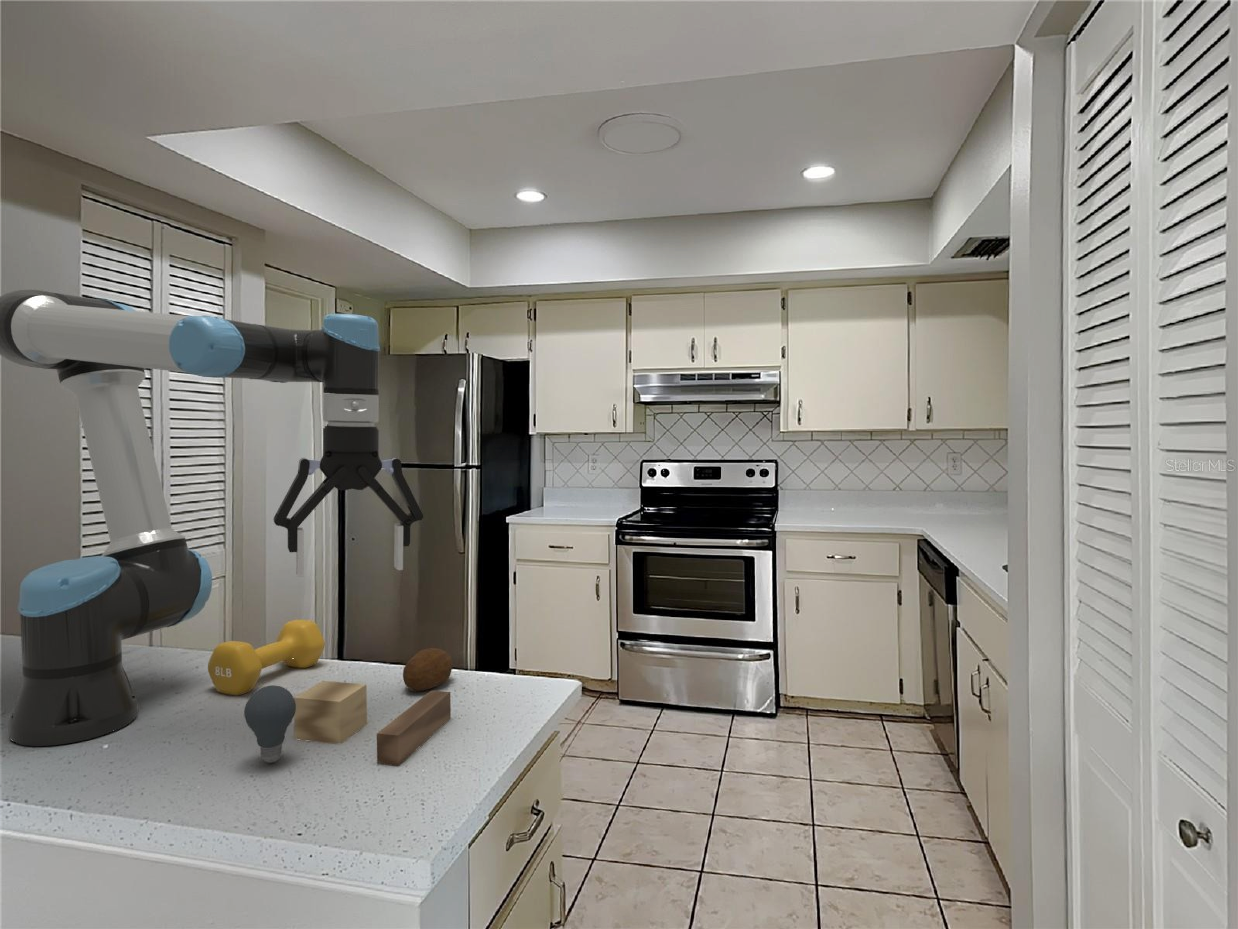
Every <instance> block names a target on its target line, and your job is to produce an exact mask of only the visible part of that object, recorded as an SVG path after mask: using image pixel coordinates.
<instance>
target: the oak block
mask: <svg viewBox="0 0 1238 929" xmlns="http://www.w3.org/2000/svg"><path fill="white" fill-rule="evenodd" d="M367 688H368V687H367V684H366V683H353V682H342V681H329V680H322V681H320V682H318V683H317V684H315V685H314V686H313V685H312V686H311V687H310V688H307V689H306V690H305V691H303V692H301V693H299V694H298V695H296V696H293V698H294V700H295V703H296V711H295V715H294V717H293V720H294V721H293V723H294V724H293V725H294V726H293V728H294V732H293V733H294V740H296V739H300V740H299V741H306V740H309V741H308V742H316V741H317V742H318V743H329V744H336V743H341V744H342V743H344V742H345V741H346V740H348V739H349V738H350V737H352V736H353V735H354V734H356V733H358V731H360V730H361V729H362V728H365V726H366V725H367V724H368V711H367V710H368V700H367V699H368V698H367V697H368V696H367V692H368V691H367ZM355 732H356V733H355ZM347 738H348V739H347ZM344 740H345V741H344ZM343 741H344V742H343Z"/></svg>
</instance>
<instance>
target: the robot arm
mask: <svg viewBox="0 0 1238 929" xmlns="http://www.w3.org/2000/svg"><path fill="white" fill-rule="evenodd" d="M322 322H323V323H322V326H321V329H316V330H315V329H314V330H313V329H289V328H284V327H277V326H269V325H264V324H263V325H262V324H258V323H250V322H249V323H248V322H244V321H238V320H237V321H236V320H233V319H232V320H231V319H225V318H222V317H218V316H212V315H183V314H182V315H181V314H173V313H171V314H170V313H162V312H161V313H160V312H148V311H138V310H136V309H134V308H132V307H131V306H129V305H126V304H123V303H117V302H115V301H112V300H109V299H104V298H96V299H95V298H91V297H82V296H78V295H77V296H76V295H70V294H64V293H57V292H52V291H49V290H48V291H47V290H39V289H19V290H13V291H11V292H6V293H4V294H2V295H0V356H1V357H3V358H5V359H6V360H8V361H10V362H12V363H14V364H17V365H21V366H25V367H30V368H34V369H43V370H45V369H46V370H56V372H57V376H58V379H59V380H58V381H59V385H60V387H61V389H63V390H64V391H67V392H68V393H71V394H72V395H73V396H74V397H75V400H76V401H75V402H76V406H77V410H78V414H79V418H80V422H81V426H82V430H83V434H84V438H85V442H86V446H87V451H88V454H89V460H90V464H91V468H92V471H93V476H94V479H95V484H96V488H97V492H98V496H99V499H100V500H99V501H100V504H101V509H102V512H103V517H104V520H105V521H104V522H105V525H106V529H107V534H108V536H109V537H108V538H109V544H108V546H107V547H106V549H105V550H104V551H103V552H102V554H101V555H99V556H98V555H97V556H86V557H80V558H76V559H65V560H62V561H58V562H55V563H50V564H47V565H44V566H41V567H39V568H36V569H34V570H33V571H31V572H30V573H28V574H27V575H26V576H25V577H24V578H23V580H22V581H21V583H20V587H19V589H20V590H19V602H18V606H17V609H18V613H19V616H20V640H21V641H20V642H21V659H22V660H21V662H22V664H21V665H22V683H21V686H20V690H19V693H18V696H17V699H16V702H15V703H16V704H15V707H14V712H13V713H12V714H11V715H10V718H9V721H8V734H9V736H10V738H11V739H12V740H13V741H14V742H16V743H15V744H17V743H19V744H18V745H22V746H28V747H29V746H30V747H45V746H46V747H47V746H57V745H58V746H59V745H65V744H70V743H71V744H72V743H78V742H82V741H87V740H91V739H94V738H98V737H101V736H104V734H105V735H107V734H110V733H113V732H114V731H113V730H115V731H117V730H116V729H118V730H120V729H122V728H124V727H125V726H128V725H129V724H130V723H129V722H131V723H132V722H133V721H134V720H135V719H136V718H137V717H136V716H138V715H137V714H138V713H139V711H138V710H139V705H138V704H139V703H138V698H137V695H136V694H135V693H134V692H133V688H132V685H131V683H130V680H129V678H128V675H127V673H126V671H125V668H124V666H123V656H122V655H123V654H122V653H123V652H122V641H124V640H127V639H130V638H135V637H137V636H140V635H143V634H147V633H151V632H154V631H157V630H160V629H164V628H170V627H174V626H177V625H179V624H180V623H182V622H184V621H188V620H190V619H192V618H194V617H195V616H197V615H199V613H200V612H201V611H202V610H203V609H204V608H205V605H206V603H207V602H208V601H209V599H210V596H211V592H212V587H213V575H212V571H211V566H210V564H209V562H208V561H207V559H206V558H205V557H202V554H201V553H200V552H198V551H196V550H193V549H191V548H189V546H188V544H187V539H186V536H185V535H183V534H181V533H180V532H177V531H176V530H174V529H173V527H172V523H171V519H170V514H169V511H168V507H167V503H166V499H165V494H164V490H163V486H162V482H161V478H160V474H159V470H158V465H157V462H156V458H155V453H154V449H153V446H152V441H151V438H150V433H149V430H148V429H149V428H148V424H147V422H146V417H145V413H144V409H143V405H142V401H141V397H140V392H139V386H140V385H141V384H142V382H144V380H145V379H146V377H147V376H146V369H151V370H160V371H161V370H162V371H168V372H169V371H170V372H175V373H176V372H177V373H185V374H189V375H194V376H198V377H201V378H212V379H213V378H214V379H215V378H224V379H225V378H227V379H228V378H229V379H249V380H259V381H264V382H271V383H281V384H284V383H322V390H323V393H322V394H323V395H322V398H323V399H322V421H324V422H325V423H327V424H326V425H325V426H324V427H323V428H322V456H321V459H320V460H316V459H315V460H314V459H308V458H307V457H302V458H300V459H299V460H298V467H297V468H298V469H297V473H296V476H295V477H294V479H293V481H292V483H291V485H290V487H289V489H288V491H287V492H286V494H285V496H284V498H283V500H282V502H281V504H280V505H279V507H278V509H277V511H276V513H275V514H274V517H273V519H272V520H273V522H274V524H275V526H277V527H282V528H285V529H287V530H286V531H287V549H288V552H289V553H295V561H296V562H295V573H296V575H297V578H300V577H302V578H303V577H304V561H305V560H304V559H305V558H304V552H305V551H304V542H305V541H304V539H305V538H304V532H305V531H304V528H303V527H300V525H301V524H303V522H304V521H305V520H306V519H307V518H308V516H310V515H311V513H312V512H313V511H314V510H315V509H316V507H318V505H319V504H320V503H321V502H322V500H324V499H325V497H326V496H327V495H328V494H330V493H331V492H332V490H333V489H337V490H340V491H349V490H352V489H353V490H356V491H364V489H367V488H368V487H369V488H370V490H371V491H372V492H373V493H374V494H375V495H376V496H377V497H378V498H379V499H380V500H381V502H382V503H383V504H384V505H385V506H386V507H387V509H389V511H390V512H391V513H392V514H393V515H394V516H395V517H396V519H397V520H398V521H399V523H394V527H393V528H394V541H393V545H394V546H393V547H394V548H393V550H394V551H393V557H394V558H393V567H394V568H395V569H396V570H397V571H403V570H404V547H410V544H411V525H412V524H413V523H416V522H418V521H422V520H423V518H424V514H423V511H422V510H421V508H420V506H419V503H418V502H417V500H416V498H415V496H414V494H413V492H412V490H411V489H410V486H409V484H408V482H407V480H406V479H405V476H404V475H403V468H402V466H403V465H402V461H401V460H400V459H399V458H396V457H391V458H390V459H384V460H381V459H380V456H379V455H380V454H379V442H380V441H379V434H380V433H379V432H380V430H379V428H378V427H377V426H375V424H378V423H379V421H380V420H379V414H380V413H379V412H380V411H379V410H380V409H379V408H380V407H379V404H380V403H379V398H380V396H379V370H380V352H381V346H380V340H379V339H380V338H379V337H380V336H379V324H378V322H377V320H375V319H374V318H373V317H371V316H367V315H360V314H352V313H351V314H350V313H331V314H327V315H324V318H323V320H322ZM317 469H319V470H320V471H321V472H322V473H323V475H324V476H325V478H324V479H323V481H322V482H321V483H320V484H319V486H318V487H316V489H315V490H314V491H313V493H311V495H310V496H309V497H308V498H307V500H305V501H304V503H303V504H302V505H301V506H300V507H299V508H298V509H297V511H296V512H295V513H294V514H293V515H292V516H291V517H290V518H289V517H288V516H289V514H290V512H291V510H292V508H293V506H294V504H296V501H297V499H298V497H299V495H300V493H301V491H302V489H303V487H304V486H305V485H306V482H307V480H308V477H309V476H312V475H313V474H314V473H315V471H316V470H317ZM382 469H384V470H385V472H386V473H387V474H388V475H389V474H390V475H391V478H392V479H393V481H394V484H395V485H396V488H397V490H398V491H399V493H400V495H401V497H402V499H403V501H404V503H405V505H406V508H407V509H408V511H409V513H406V512H405V510H403V509H402V508H401V507H400V505H399V504H398V503H397V502H396V501H395V500H394V498H392V496H391V495H390V494H389V493H388V492H387V491H386V489H385V488H383V486H382V485H381V484H380V482H379V481H378V480H377V479H376V477H377V476H378V474H379V473H380V472H381V470H382ZM135 717H136V718H135ZM133 719H134V720H133ZM132 720H133V721H132ZM128 723H129V724H128ZM127 724H128V725H127ZM123 726H124V727H123ZM121 727H122V728H121ZM119 728H120V729H119ZM112 731H113V732H112ZM109 732H110V733H109ZM106 733H107V734H106ZM10 738H9V739H10ZM14 742H13V743H14Z"/></svg>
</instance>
